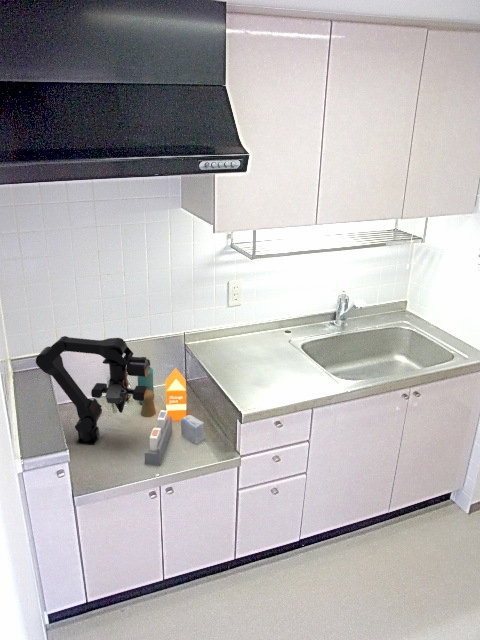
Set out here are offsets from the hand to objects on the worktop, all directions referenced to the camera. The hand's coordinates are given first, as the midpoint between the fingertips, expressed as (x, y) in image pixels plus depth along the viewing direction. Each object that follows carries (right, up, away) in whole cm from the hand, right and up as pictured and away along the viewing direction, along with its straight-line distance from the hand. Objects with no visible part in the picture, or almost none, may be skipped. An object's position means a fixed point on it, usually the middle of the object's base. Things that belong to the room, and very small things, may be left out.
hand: (121, 412), depth 197 cm
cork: (+6, -5, +21) cm, 23 cm away
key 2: (+14, -11, +6) cm, 19 cm away
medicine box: (+25, -12, +8) cm, 29 cm away
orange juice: (+17, -6, +21) cm, 28 cm away
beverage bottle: (+4, -1, +29) cm, 30 cm away
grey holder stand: (+13, -14, +2) cm, 19 cm away
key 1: (+13, -15, -4) cm, 20 cm away
